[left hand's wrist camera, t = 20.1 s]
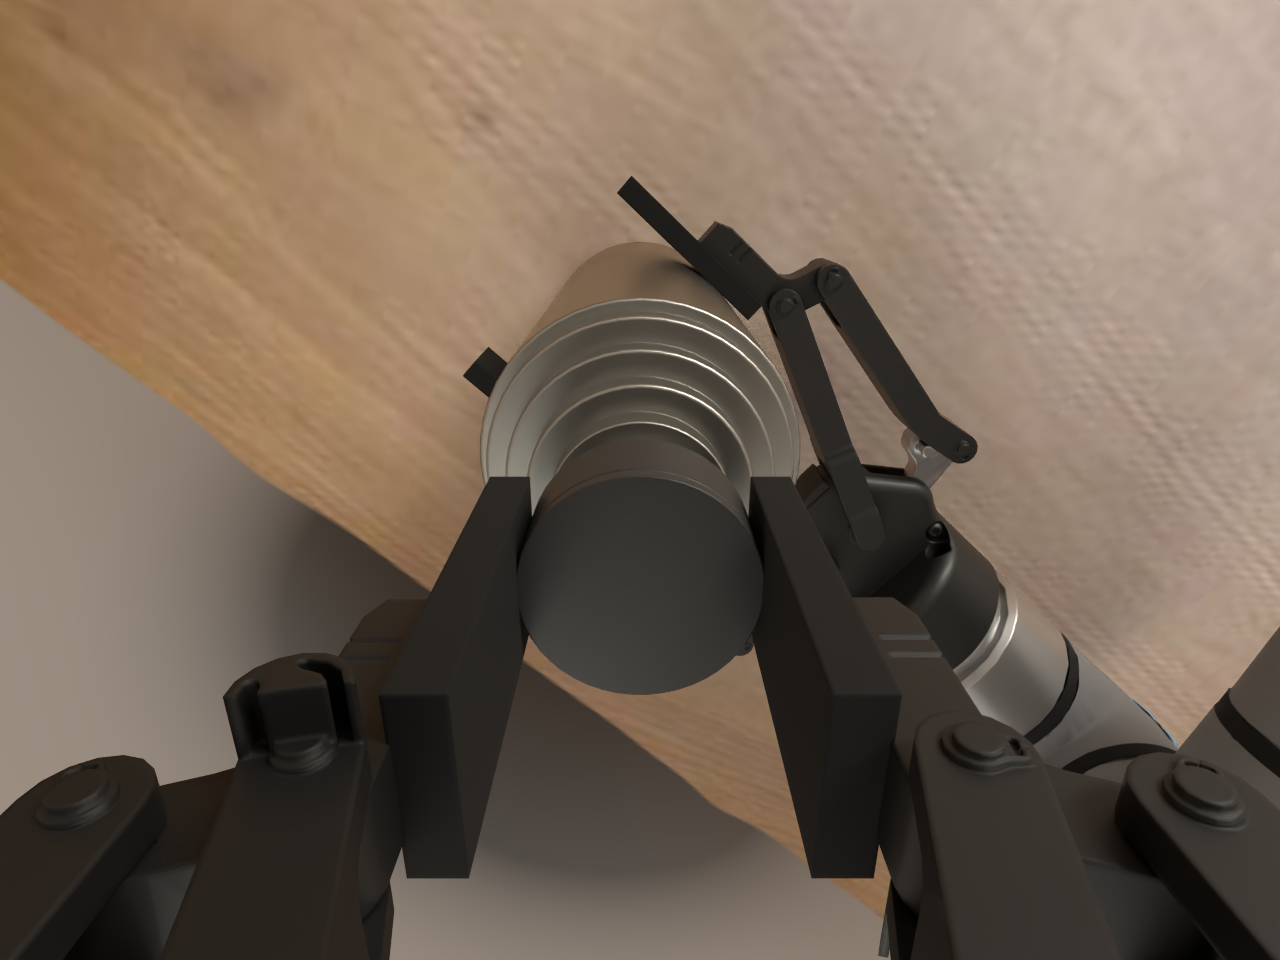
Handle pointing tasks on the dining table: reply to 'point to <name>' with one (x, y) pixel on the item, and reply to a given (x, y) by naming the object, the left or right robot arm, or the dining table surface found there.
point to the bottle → (639, 376)
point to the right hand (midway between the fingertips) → (547, 276)
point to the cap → (640, 569)
